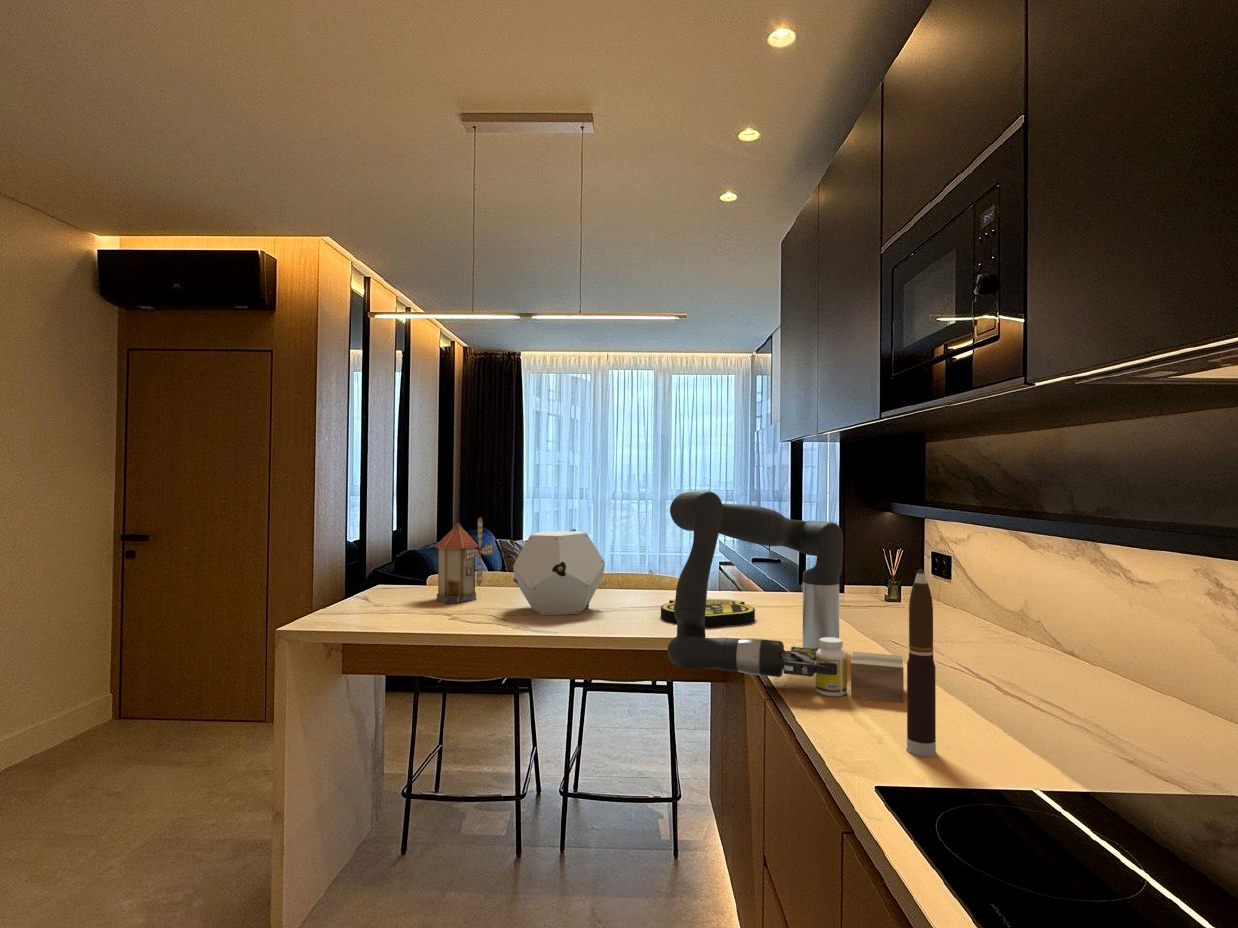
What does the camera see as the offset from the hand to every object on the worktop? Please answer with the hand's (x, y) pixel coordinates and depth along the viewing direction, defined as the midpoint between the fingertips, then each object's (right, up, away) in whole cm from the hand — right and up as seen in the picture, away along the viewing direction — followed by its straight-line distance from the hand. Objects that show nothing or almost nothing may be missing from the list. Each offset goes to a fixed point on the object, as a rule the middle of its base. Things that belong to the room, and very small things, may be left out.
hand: (838, 664), depth 148 cm
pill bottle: (-1, -6, 0) cm, 6 cm away
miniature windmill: (-102, -8, +108) cm, 149 cm away
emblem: (-18, -8, +78) cm, 80 cm away
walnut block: (+8, -6, 0) cm, 10 cm away
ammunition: (+4, -6, -31) cm, 32 cm away
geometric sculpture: (-66, -7, +89) cm, 111 cm away
